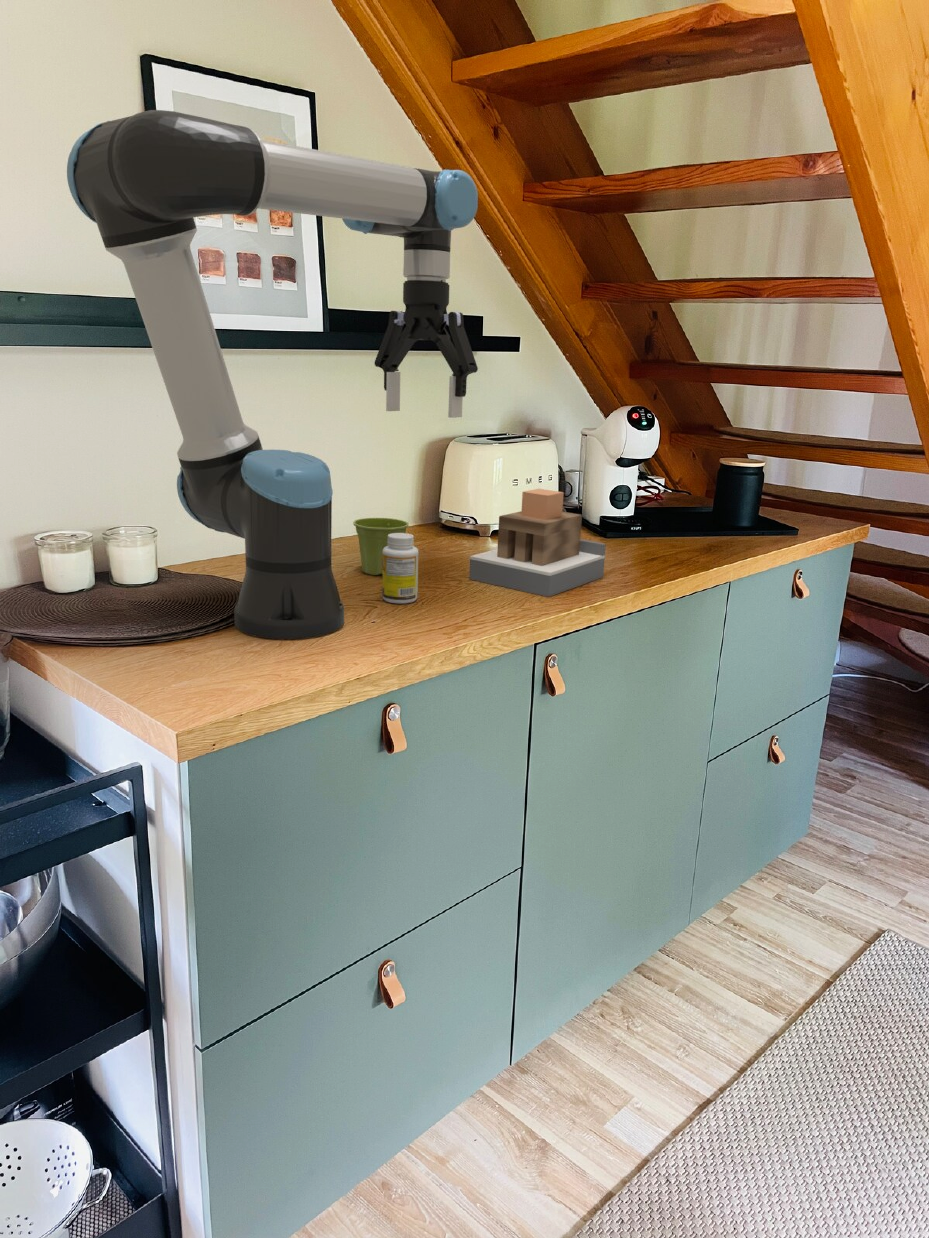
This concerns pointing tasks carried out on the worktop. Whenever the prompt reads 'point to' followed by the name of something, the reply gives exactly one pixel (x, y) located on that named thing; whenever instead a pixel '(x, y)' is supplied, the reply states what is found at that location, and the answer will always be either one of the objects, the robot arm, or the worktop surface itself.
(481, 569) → the platform
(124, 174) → the robot arm
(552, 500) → the terracotta orange block
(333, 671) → the worktop surface
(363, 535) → the plant pot
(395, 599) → the supplement bottle
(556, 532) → the pallet
